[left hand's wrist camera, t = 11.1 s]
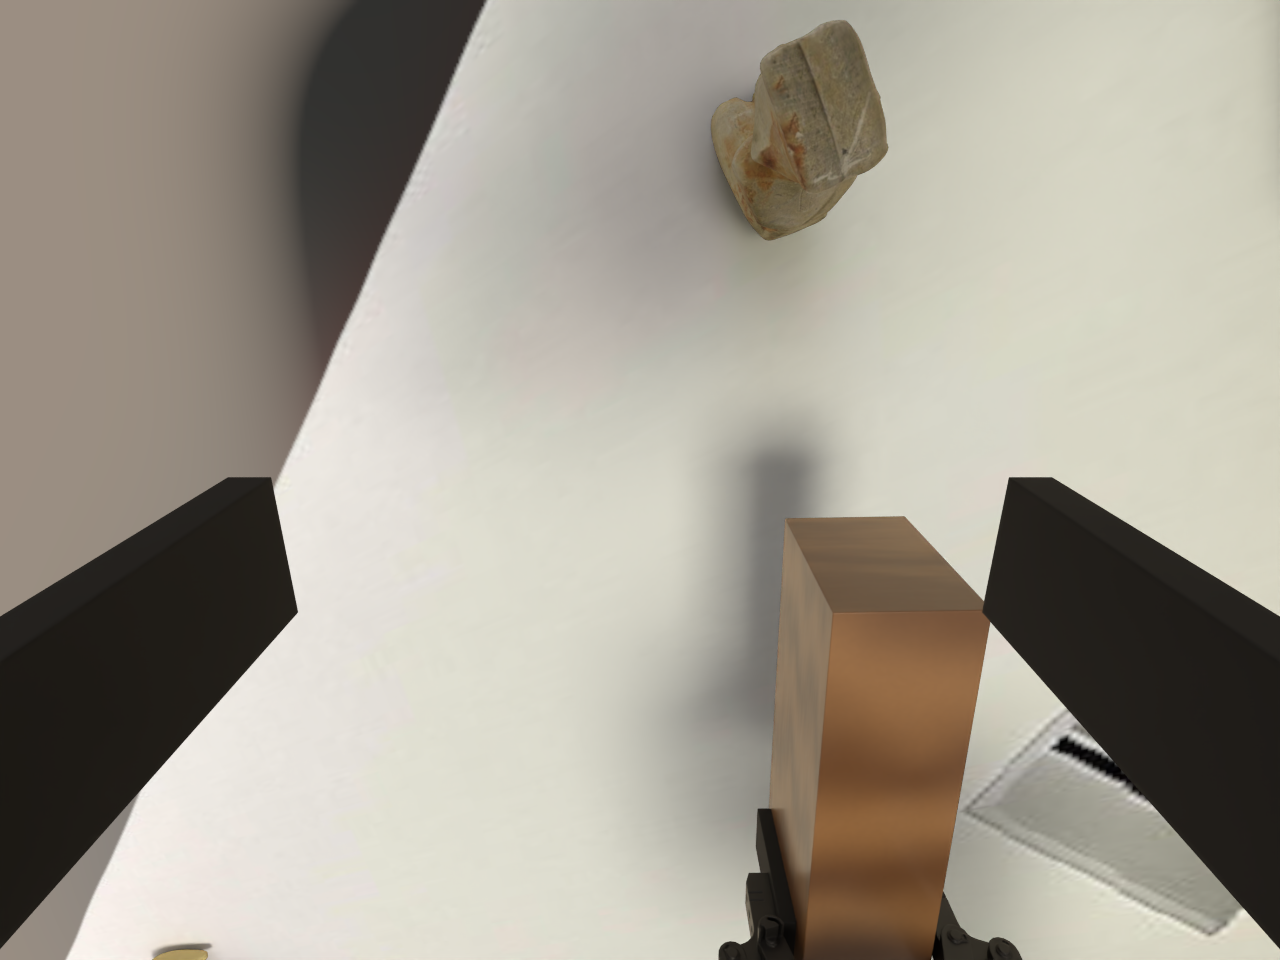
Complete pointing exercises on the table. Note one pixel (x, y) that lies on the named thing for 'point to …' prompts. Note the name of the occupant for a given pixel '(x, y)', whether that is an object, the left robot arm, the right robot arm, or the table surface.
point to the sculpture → (801, 131)
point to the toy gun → (183, 955)
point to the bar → (870, 732)
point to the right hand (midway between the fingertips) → (821, 827)
